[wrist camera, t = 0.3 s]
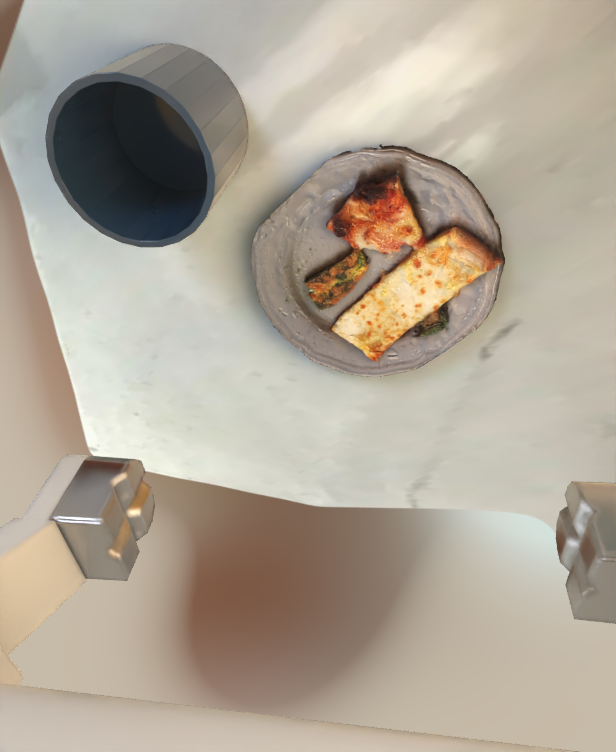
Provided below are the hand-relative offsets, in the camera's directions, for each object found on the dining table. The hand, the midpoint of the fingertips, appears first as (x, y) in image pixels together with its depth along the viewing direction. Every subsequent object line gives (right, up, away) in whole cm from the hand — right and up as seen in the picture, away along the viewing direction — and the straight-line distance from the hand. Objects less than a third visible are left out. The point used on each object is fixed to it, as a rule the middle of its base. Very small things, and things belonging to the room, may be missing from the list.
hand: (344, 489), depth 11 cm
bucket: (-13, +26, +42) cm, 51 cm away
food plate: (+6, +14, +49) cm, 51 cm away
